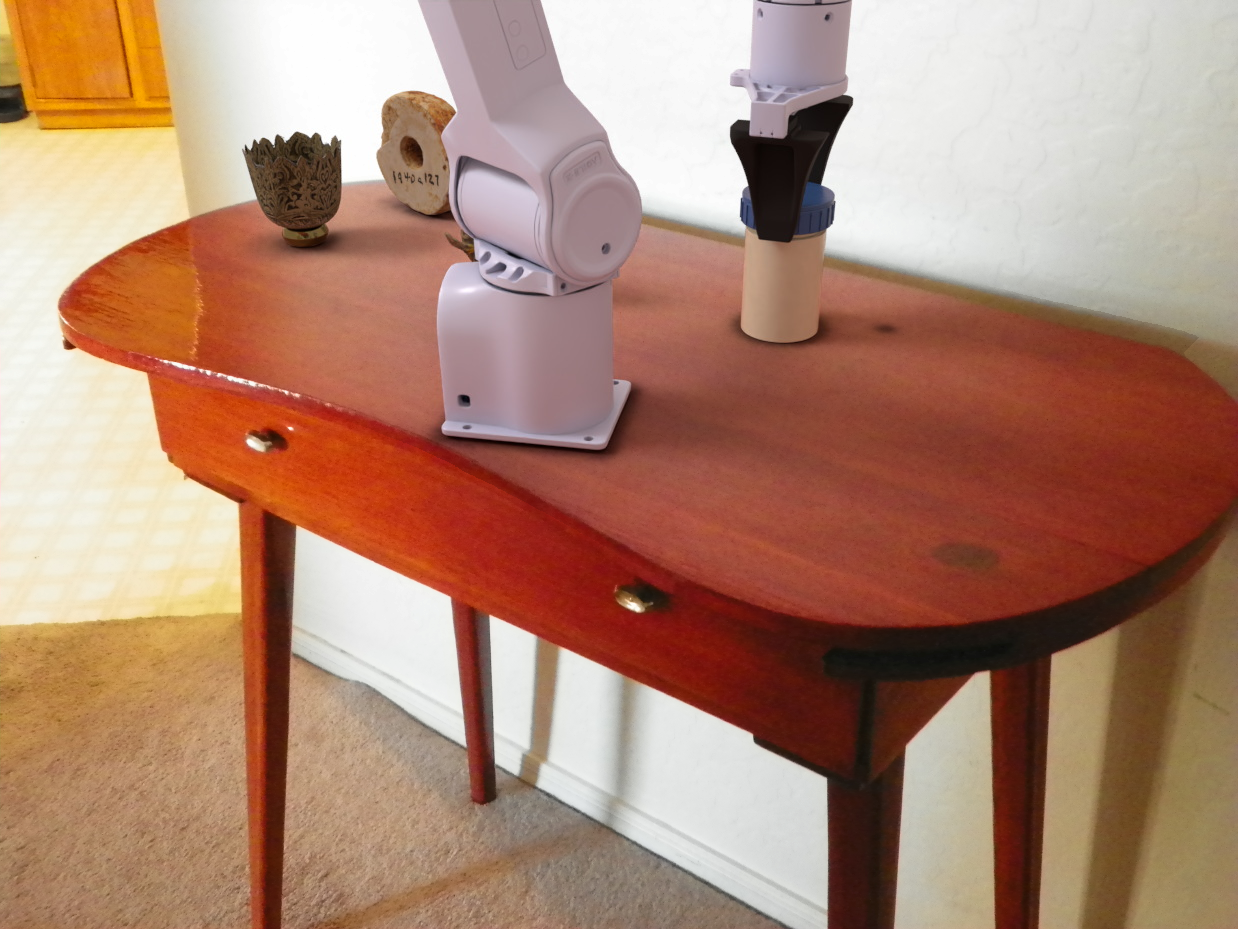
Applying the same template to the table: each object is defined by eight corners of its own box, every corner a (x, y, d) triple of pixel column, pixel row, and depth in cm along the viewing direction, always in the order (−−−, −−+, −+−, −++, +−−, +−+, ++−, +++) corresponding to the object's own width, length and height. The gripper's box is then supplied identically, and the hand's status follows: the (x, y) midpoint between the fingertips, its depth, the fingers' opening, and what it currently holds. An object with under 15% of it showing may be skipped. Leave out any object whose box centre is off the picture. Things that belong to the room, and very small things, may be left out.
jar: (738, 340, 75) (744, 213, 71) (742, 309, 79) (749, 188, 75) (817, 344, 74) (829, 217, 70) (818, 313, 79) (828, 191, 74)
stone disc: (484, 217, 97) (476, 97, 92) (450, 227, 95) (439, 105, 90) (412, 191, 104) (401, 78, 99) (378, 200, 101) (365, 85, 96)
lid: (846, 214, 74) (849, 187, 73) (813, 241, 69) (815, 213, 69) (762, 201, 76) (763, 174, 76) (724, 226, 72) (725, 198, 71)
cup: (239, 246, 91) (221, 146, 87) (309, 221, 97) (295, 126, 92) (303, 264, 88) (287, 161, 84) (372, 237, 93) (360, 139, 89)
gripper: (765, -22, 73) (754, 185, 80) (700, 14, 62) (694, 253, 68) (875, -18, 71) (854, 195, 78) (830, 21, 59) (809, 267, 66)
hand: (786, 223), depth 73 cm, fingers closed on lid, 6 cm apart
